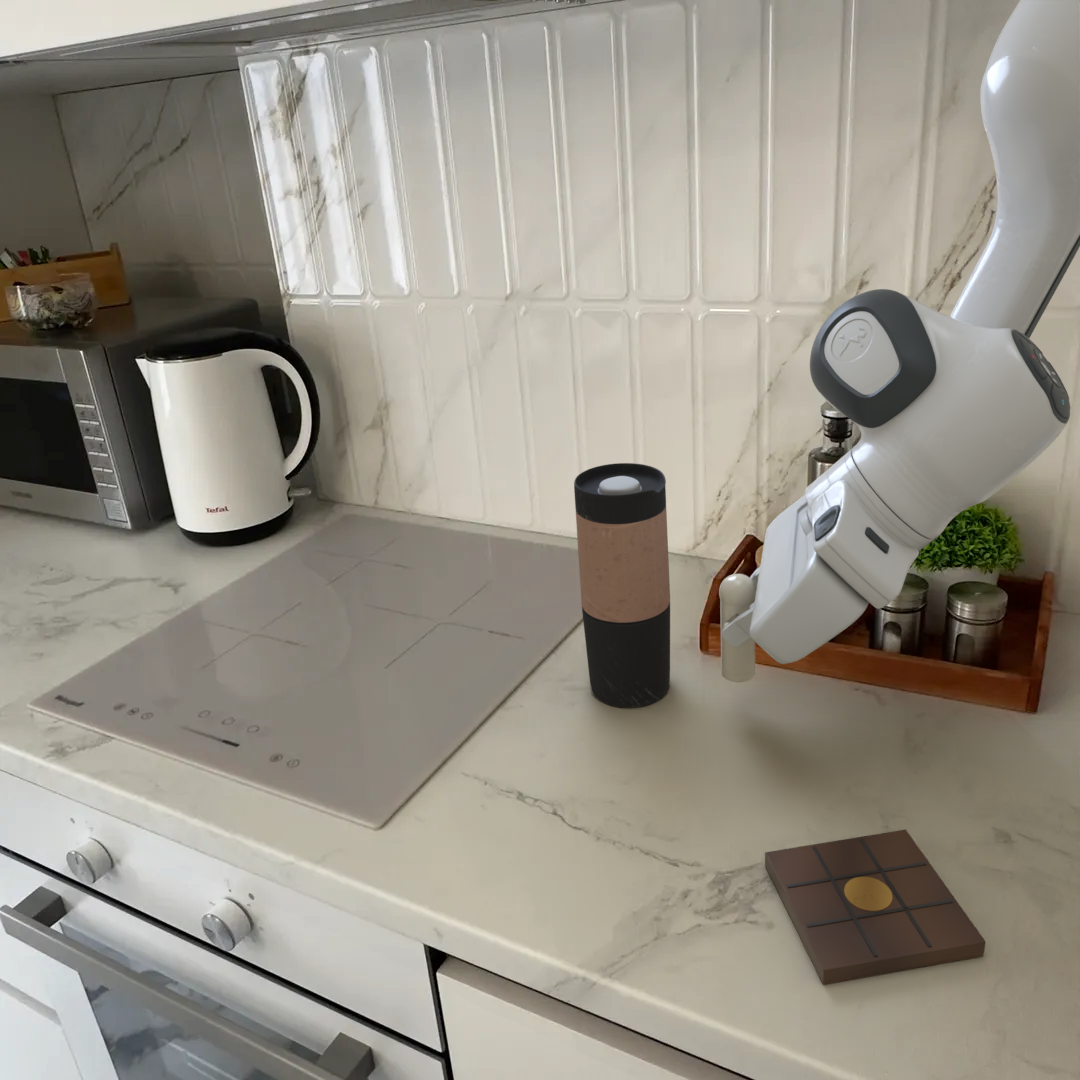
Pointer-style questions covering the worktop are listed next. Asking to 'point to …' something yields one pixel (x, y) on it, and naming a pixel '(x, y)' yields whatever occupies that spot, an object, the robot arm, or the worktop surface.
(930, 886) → the board
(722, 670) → the white round-top peg
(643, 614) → the travel mug
